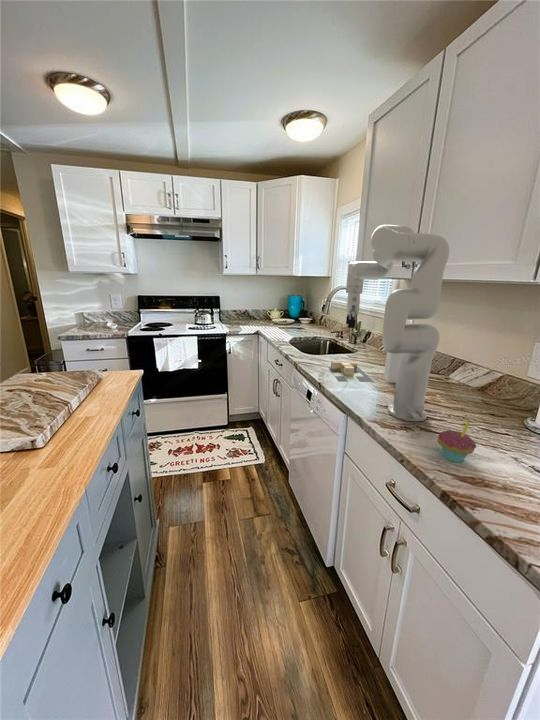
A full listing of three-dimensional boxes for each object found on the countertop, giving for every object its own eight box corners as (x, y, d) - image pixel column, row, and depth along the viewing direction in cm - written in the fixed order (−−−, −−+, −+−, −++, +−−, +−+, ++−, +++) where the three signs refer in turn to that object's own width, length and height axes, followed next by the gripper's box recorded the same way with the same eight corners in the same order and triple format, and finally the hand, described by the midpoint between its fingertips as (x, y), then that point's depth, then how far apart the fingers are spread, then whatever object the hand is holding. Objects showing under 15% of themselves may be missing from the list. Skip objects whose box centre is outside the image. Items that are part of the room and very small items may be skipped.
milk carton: (398, 380, 138) (404, 340, 133) (403, 385, 132) (410, 343, 126) (383, 379, 139) (388, 339, 134) (387, 384, 132) (393, 343, 127)
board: (373, 384, 132) (374, 381, 132) (338, 383, 132) (338, 381, 131) (358, 369, 153) (358, 367, 153) (327, 368, 153) (327, 366, 152)
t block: (361, 376, 139) (362, 368, 138) (336, 375, 139) (337, 367, 137) (354, 368, 150) (355, 360, 149) (330, 368, 150) (331, 360, 149)
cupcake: (477, 460, 78) (487, 418, 75) (462, 471, 74) (472, 427, 70) (443, 445, 85) (451, 406, 82) (428, 454, 80) (436, 413, 77)
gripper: (365, 291, 131) (360, 329, 136) (360, 289, 147) (356, 323, 152) (347, 290, 132) (343, 328, 137) (344, 288, 148) (341, 322, 153)
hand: (350, 325), depth 145 cm, fingers open, 9 cm apart
